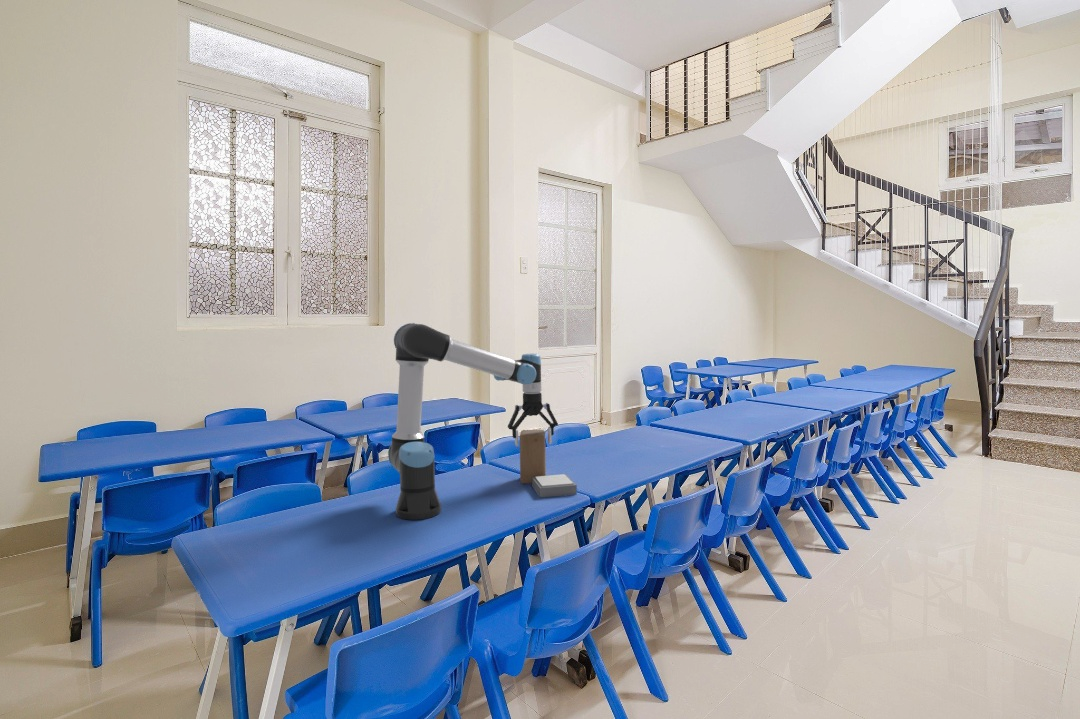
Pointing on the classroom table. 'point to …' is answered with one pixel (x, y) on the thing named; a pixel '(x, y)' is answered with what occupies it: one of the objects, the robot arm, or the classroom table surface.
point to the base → (554, 485)
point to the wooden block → (532, 455)
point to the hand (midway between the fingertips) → (533, 444)
